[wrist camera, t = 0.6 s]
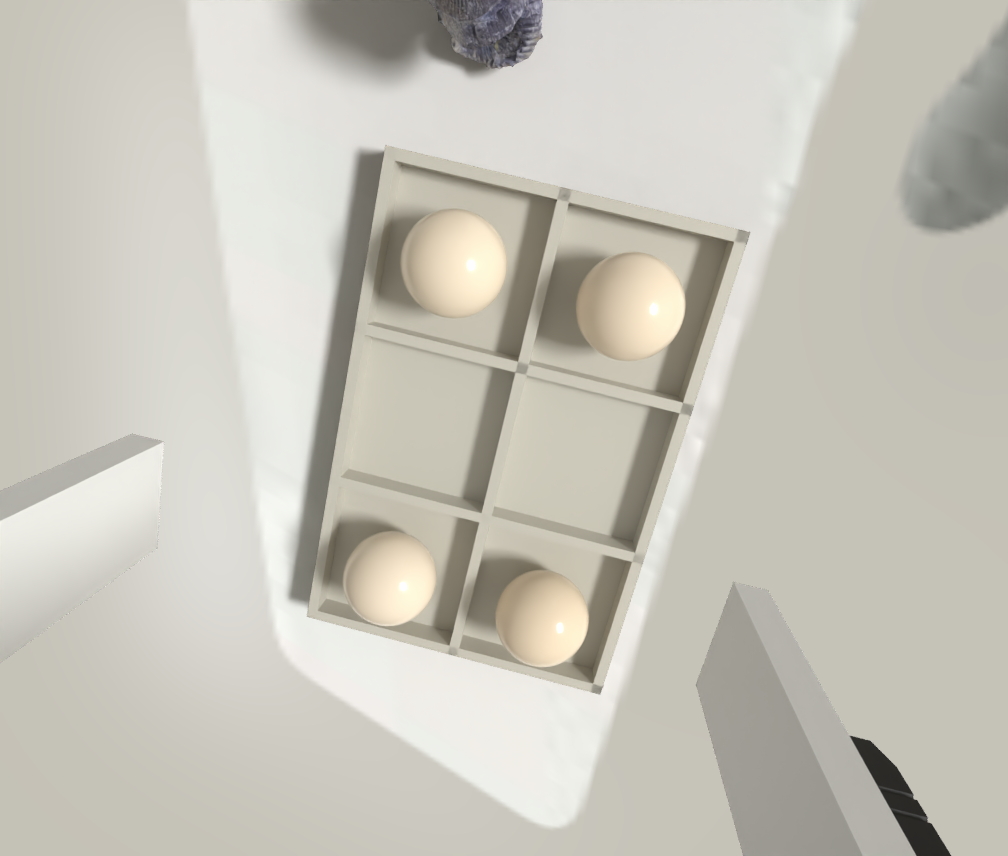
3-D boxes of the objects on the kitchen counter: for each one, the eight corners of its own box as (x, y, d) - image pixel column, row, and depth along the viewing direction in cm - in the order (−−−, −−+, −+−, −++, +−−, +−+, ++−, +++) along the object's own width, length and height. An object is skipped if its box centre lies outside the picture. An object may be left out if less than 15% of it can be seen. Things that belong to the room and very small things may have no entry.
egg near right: (590, 241, 34) (593, 238, 29) (689, 265, 34) (710, 267, 29) (564, 339, 36) (563, 354, 31) (659, 363, 36) (674, 381, 30)
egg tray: (395, 151, 35) (385, 145, 33) (740, 233, 34) (750, 232, 32) (318, 600, 42) (306, 616, 40) (598, 674, 42) (600, 694, 40)
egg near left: (424, 201, 35) (398, 191, 29) (522, 224, 34) (513, 219, 29) (406, 300, 36) (378, 308, 31) (499, 324, 36) (487, 335, 31)
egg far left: (367, 507, 40) (336, 545, 34) (452, 529, 39) (434, 570, 34) (353, 583, 41) (321, 631, 36) (435, 605, 41) (415, 656, 36)
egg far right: (511, 544, 39) (502, 588, 34) (597, 566, 39) (602, 614, 34) (491, 620, 41) (480, 673, 36) (574, 641, 41) (575, 698, 35)
